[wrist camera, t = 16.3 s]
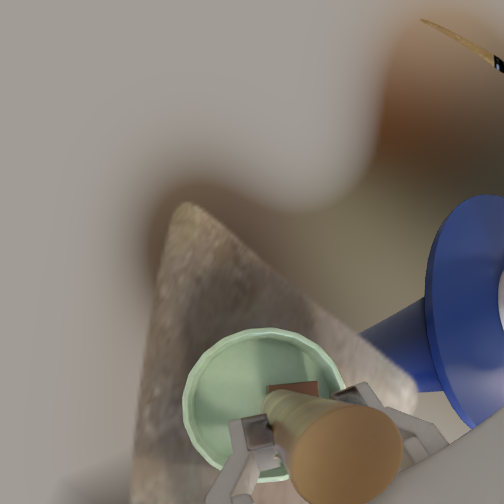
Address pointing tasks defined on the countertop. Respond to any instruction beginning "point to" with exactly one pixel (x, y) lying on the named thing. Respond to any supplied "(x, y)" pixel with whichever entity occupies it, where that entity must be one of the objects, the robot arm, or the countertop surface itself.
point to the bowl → (248, 386)
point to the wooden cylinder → (333, 447)
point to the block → (296, 387)
